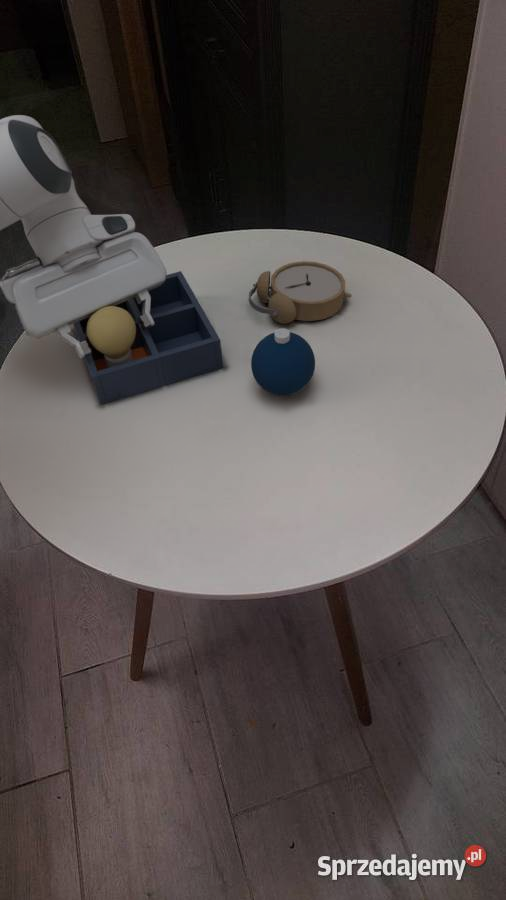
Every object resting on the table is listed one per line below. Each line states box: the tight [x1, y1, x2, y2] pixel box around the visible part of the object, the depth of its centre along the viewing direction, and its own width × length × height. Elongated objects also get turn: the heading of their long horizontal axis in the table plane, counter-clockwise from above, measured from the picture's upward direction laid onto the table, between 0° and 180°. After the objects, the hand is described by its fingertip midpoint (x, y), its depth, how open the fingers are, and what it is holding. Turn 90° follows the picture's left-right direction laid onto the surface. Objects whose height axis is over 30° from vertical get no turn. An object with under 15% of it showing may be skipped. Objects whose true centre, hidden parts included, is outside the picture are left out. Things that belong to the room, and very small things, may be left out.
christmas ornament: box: [250, 327, 316, 397], centre depth 89 cm, size 8×8×10 cm
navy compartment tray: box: [72, 270, 224, 405], centre depth 98 cm, size 18×18×5 cm
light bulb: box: [87, 306, 136, 368], centre depth 92 cm, size 6×6×10 cm
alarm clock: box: [248, 260, 353, 324], centre depth 103 cm, size 11×5×15 cm
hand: (118, 341), depth 91 cm, fingers open, 8 cm apart
